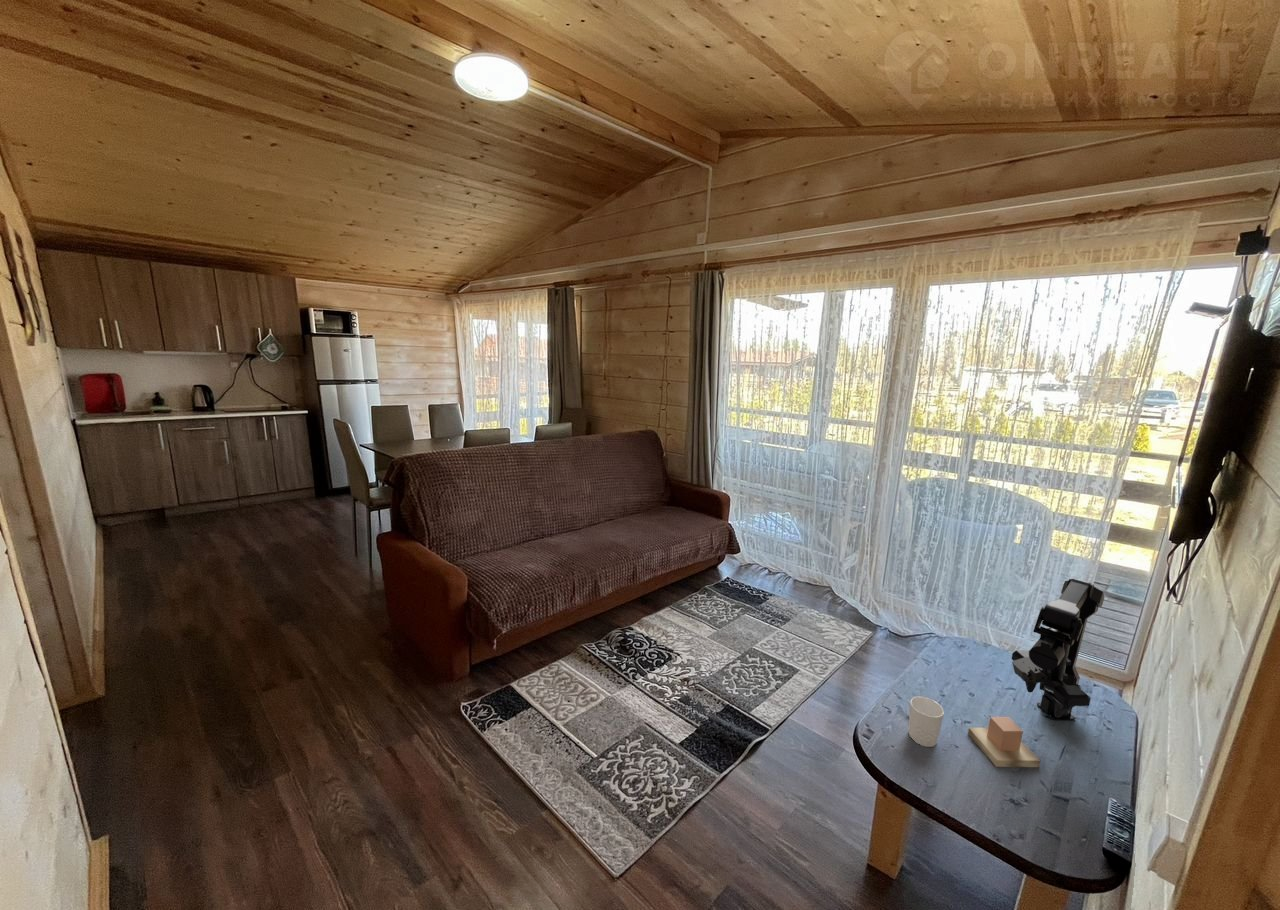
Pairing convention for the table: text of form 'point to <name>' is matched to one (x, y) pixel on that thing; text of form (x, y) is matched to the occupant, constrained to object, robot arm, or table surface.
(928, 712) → the white cup
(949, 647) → the table surface
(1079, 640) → the robot arm
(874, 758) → the table surface
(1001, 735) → the block
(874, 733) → the table surface
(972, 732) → the base slab
